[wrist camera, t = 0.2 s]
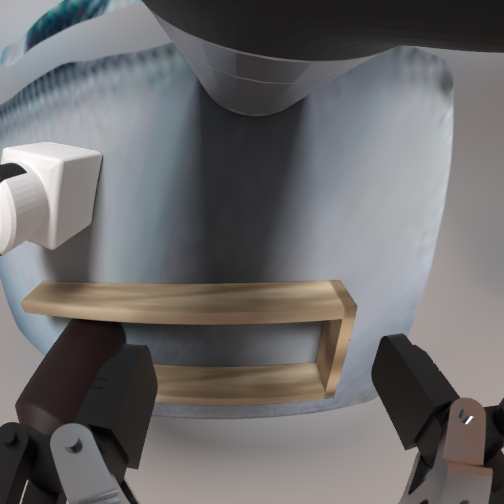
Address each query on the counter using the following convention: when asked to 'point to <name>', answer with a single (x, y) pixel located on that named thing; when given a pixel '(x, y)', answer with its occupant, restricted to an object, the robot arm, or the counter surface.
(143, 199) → the counter surface
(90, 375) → the vinegar
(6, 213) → the medicine bottle
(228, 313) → the u rest
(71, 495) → the robot arm
